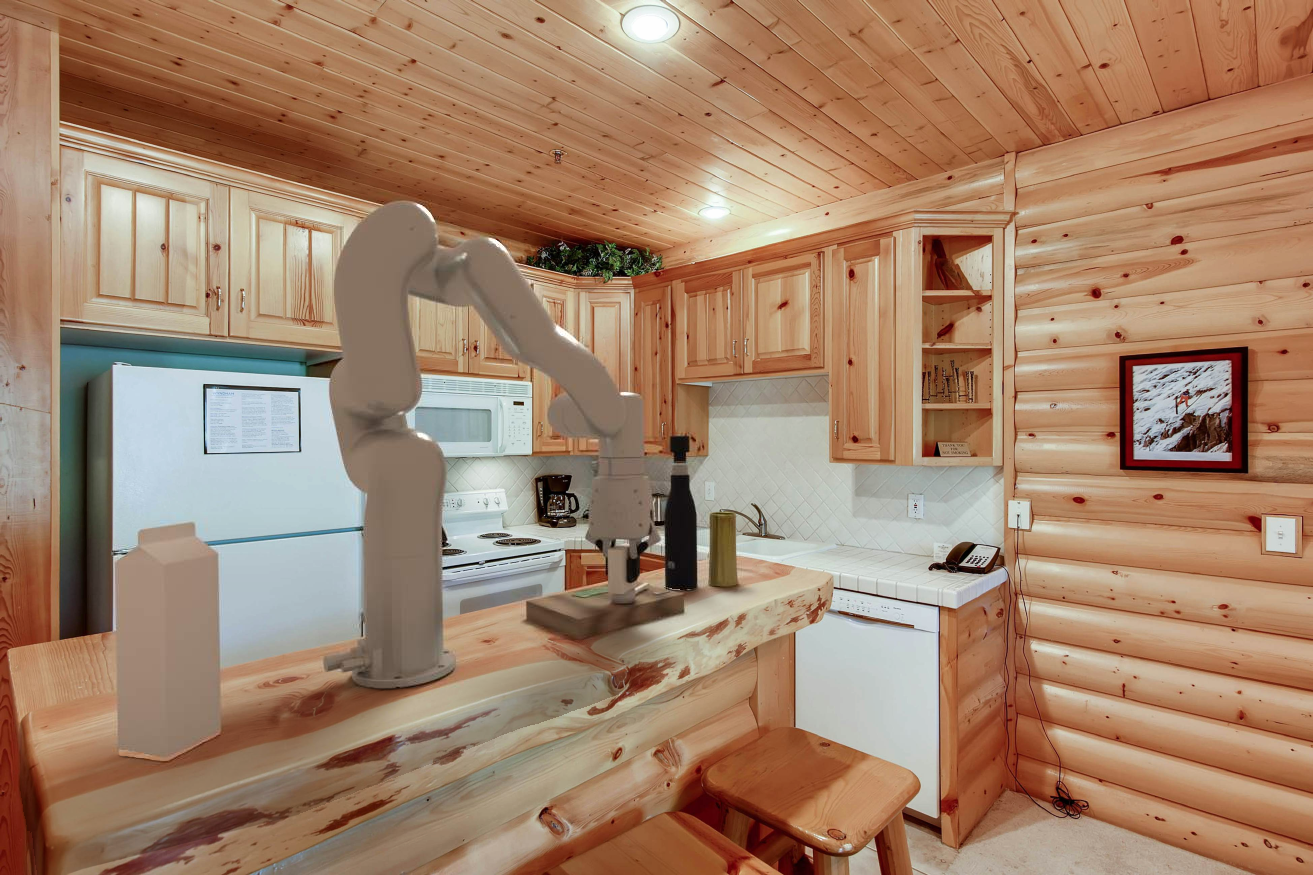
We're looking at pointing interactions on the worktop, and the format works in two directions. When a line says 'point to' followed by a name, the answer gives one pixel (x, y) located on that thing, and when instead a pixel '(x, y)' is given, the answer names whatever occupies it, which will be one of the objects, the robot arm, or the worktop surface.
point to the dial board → (601, 610)
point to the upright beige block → (621, 576)
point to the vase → (723, 550)
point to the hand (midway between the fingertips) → (622, 579)
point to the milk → (167, 642)
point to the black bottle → (680, 523)
